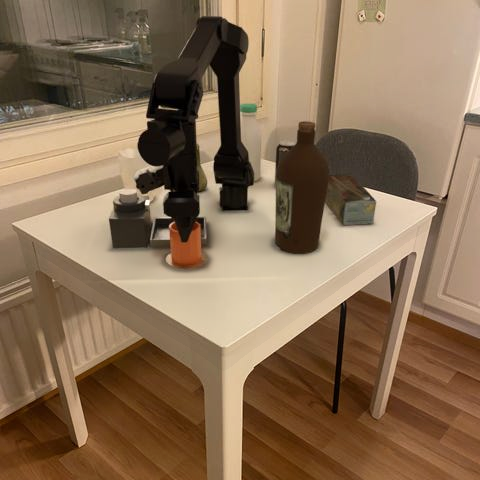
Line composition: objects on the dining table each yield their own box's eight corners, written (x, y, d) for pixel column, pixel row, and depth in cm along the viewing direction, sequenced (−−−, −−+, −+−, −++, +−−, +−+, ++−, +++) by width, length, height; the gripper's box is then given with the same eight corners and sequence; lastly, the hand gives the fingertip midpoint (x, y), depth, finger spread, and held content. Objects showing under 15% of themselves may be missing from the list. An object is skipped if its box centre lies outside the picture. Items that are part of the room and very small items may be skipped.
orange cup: (201, 251, 101) (200, 219, 97) (201, 264, 96) (200, 232, 92) (172, 251, 100) (170, 220, 96) (171, 265, 95) (168, 232, 91)
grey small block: (150, 208, 105) (149, 200, 104) (149, 213, 103) (148, 204, 102) (146, 208, 105) (146, 200, 104) (145, 213, 103) (144, 204, 102)
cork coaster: (207, 250, 102) (207, 248, 102) (207, 270, 95) (207, 267, 95) (167, 251, 101) (166, 249, 101) (164, 270, 95) (164, 268, 94)
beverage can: (288, 181, 139) (291, 138, 132) (298, 188, 135) (302, 143, 128) (270, 184, 137) (273, 140, 130) (280, 191, 133) (283, 146, 126)
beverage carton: (341, 226, 114) (344, 199, 110) (319, 197, 129) (322, 172, 126) (373, 224, 114) (378, 197, 111) (348, 196, 130) (352, 171, 126)
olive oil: (306, 231, 111) (318, 115, 97) (330, 251, 103) (346, 127, 89) (264, 238, 108) (269, 118, 93) (284, 258, 100) (294, 131, 85)
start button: (138, 197, 104) (137, 188, 103) (136, 204, 101) (135, 194, 100) (121, 198, 104) (120, 188, 103) (119, 204, 101) (118, 194, 100)
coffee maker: (151, 224, 113) (148, 188, 108) (146, 249, 102) (142, 210, 97) (121, 224, 112) (116, 189, 108) (113, 249, 102) (107, 211, 97)
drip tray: (206, 224, 113) (206, 216, 112) (207, 247, 104) (206, 238, 102) (154, 225, 113) (153, 217, 111) (150, 248, 103) (149, 239, 102)
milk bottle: (263, 176, 143) (266, 103, 132) (255, 184, 137) (257, 108, 126) (238, 173, 145) (239, 100, 134) (229, 181, 139) (229, 106, 128)
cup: (161, 194, 129) (158, 148, 122) (153, 206, 122) (149, 158, 115) (128, 192, 130) (123, 146, 123) (118, 205, 122) (112, 157, 116)
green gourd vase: (194, 185, 135) (193, 141, 129) (211, 187, 134) (210, 142, 127) (186, 192, 131) (183, 146, 124) (202, 194, 130) (201, 148, 123)
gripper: (139, 137, 93) (147, 214, 102) (128, 166, 78) (138, 254, 86) (198, 136, 94) (200, 213, 103) (198, 166, 78) (201, 253, 87)
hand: (184, 232), depth 95 cm, fingers open, 9 cm apart
